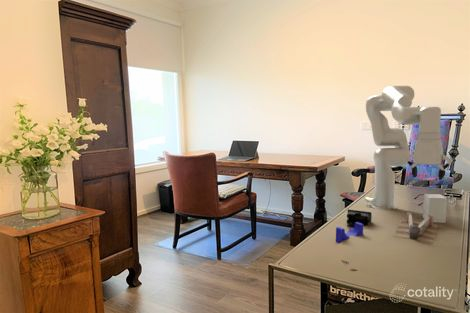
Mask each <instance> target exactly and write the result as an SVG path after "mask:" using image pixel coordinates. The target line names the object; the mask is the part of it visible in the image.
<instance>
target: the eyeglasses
mask: <svg viewBox="0 0 470 313" xmlns="http://www.w3.org/2000/svg"><path fill="white" fill-rule="evenodd" d="M424 194H425V193H423V194H422V193H421V194H418V195H417V196H416V197H414V198H413V200H416V199H417V198H419V197H420V196H424ZM443 196H444V197H446V198H448V202H447V205H453V207H454V208H455V207H456V204H457V198H456V197H454V196H453V194H452V193H451V194H449V196H446V195H443ZM450 198H451V199H450ZM422 204H423V205H424V201H423V202H420V203H418V204H417V206H421V205H422Z"/></svg>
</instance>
